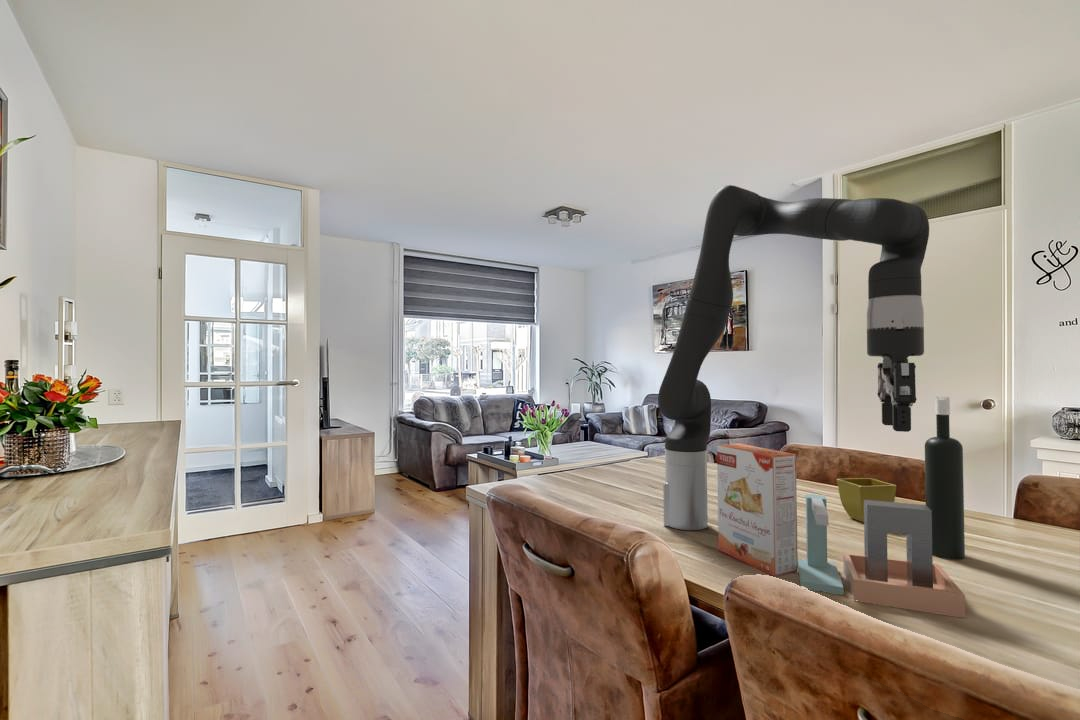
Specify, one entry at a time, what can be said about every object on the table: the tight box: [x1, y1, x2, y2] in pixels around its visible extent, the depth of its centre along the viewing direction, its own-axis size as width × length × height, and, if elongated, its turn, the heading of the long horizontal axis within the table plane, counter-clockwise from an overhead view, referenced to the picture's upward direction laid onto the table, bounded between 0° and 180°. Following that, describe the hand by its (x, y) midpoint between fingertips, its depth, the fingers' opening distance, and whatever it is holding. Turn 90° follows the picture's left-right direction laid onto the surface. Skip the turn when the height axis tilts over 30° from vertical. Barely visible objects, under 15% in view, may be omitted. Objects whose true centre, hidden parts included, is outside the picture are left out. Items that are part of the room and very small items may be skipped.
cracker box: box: [716, 442, 799, 577], centre depth 96 cm, size 14×6×21 cm, turn 22°
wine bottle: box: [924, 396, 966, 561], centre depth 99 cm, size 6×6×30 cm
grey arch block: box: [863, 500, 934, 588], centre depth 83 cm, size 8×4×13 cm, turn 66°
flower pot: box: [836, 477, 897, 524], centre depth 121 cm, size 9×9×9 cm
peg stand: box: [797, 493, 845, 596], centre depth 86 cm, size 6×14×13 cm, turn 156°
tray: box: [842, 552, 966, 619], centre depth 82 cm, size 14×13×3 cm
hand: (895, 428), depth 83 cm, fingers open, 8 cm apart
